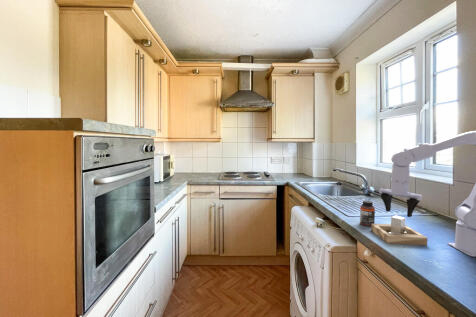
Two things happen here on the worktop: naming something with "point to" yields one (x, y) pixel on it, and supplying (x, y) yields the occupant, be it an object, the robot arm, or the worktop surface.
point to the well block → (399, 235)
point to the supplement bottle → (367, 213)
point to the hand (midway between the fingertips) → (398, 213)
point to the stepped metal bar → (397, 225)
